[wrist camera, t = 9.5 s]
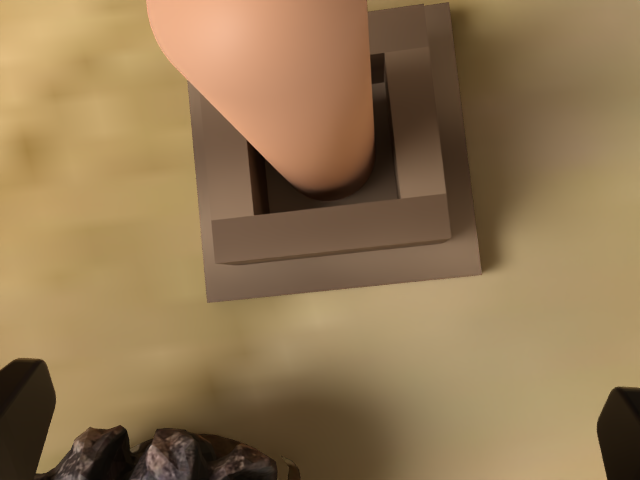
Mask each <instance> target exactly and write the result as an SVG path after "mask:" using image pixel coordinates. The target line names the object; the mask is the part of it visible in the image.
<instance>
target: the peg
mask: <svg viewBox="0 0 640 480" xmlns="http://www.w3.org/2000/svg"><path fill="white" fill-rule="evenodd" d="M146 2H147V13H148V17H149V21H150V26H151V28H152V31H153V34H154V36H155V39H156V41H157V43H158V44H159V46H160V48H161V50H162V52H163V53H164V54H165V56H166V57H167V58H168V60H169V61H170V62H171V63H172V64H173V65H174V66H175V68H176V69H177V70H178V71H179V72H180V73H181V74H182V75H183V76H184V77H185V78H186V79H187V80H188V81H189V82H190V83H191V84H192V85H193V86H194V87H195V88H196V89H197V90H198V91H199V92H200V93H201V94H202V95H203V96H204V97H205V98H206V99H207V100H208V101H209V102H210V103H211V104H212V105H213V106H214V107H215V108H216V109H217V110H218V111H219V112H220V113H221V114H222V115H223V116H224V117H225V118H226V119H227V120H228V121H229V122H230V123H231V124H232V125H233V126H234V127H235V128H236V129H237V130H238V131H239V132H240V133H241V134H242V135H243V136H244V137H245V138H246V139H247V140H248V141H249V142H250V144H251V145H252V146H253V147H254V148H255V149H256V150H257V151H258V152H259V153H260V154H261V155H262V156H263V157H264V158H265V159H266V160H267V161H268V162H269V163H270V164H271V165H272V166H273V167H274V168H275V169H276V170H277V171H278V172H279V173H280V174H281V175H282V176H283V177H284V178H285V179H286V180H287V181H288V182H289V183H290V184H291V185H292V186H293V187H294V188H295V189H296V190H297V191H299V192H300V193H301V194H303V195H305V196H307V197H309V198H311V199H315V200H319V201H335V200H340V199H343V198H346V197H348V196H350V195H352V194H353V193H355V192H356V191H357V190H359V189H360V188H361V187H362V186H363V185H364V183H365V182H366V181H367V179H368V178H369V176H370V174H371V172H372V170H373V166H374V163H375V134H374V117H373V99H372V82H371V64H370V47H369V29H368V12H367V0H146Z"/></svg>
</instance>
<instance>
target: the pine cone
mask: <svg viewBox="0 0 640 480" xmlns="http://www.w3.org/2000/svg"><path fill="white" fill-rule="evenodd" d="M281 457H282V458H283V460H284V461H285V462H286V464H287V465H288V467H289V472H288V480H300V473H299V469H298V467H297V466H296V465H295V464H294V462H293V461H291V460H289V459H287V458H285V457H283V456H281ZM34 480H277V466H276V462H275V461H274V460H272V459H271V458H269V457H268V456H266V455H265V454H263V453H262V452H260V451H259V450H257V449H256V448H253V447H250V446H248V445H247V444H244V443H241V442H238V441H235V440H231V439H228V438H224V437H220V436H217V435H207V434H194V433H189V432H187V431H186V430H181V429H172V428H163V429H157V430H156V433H155V436H154V438H153V439H151V440H148V441H146V442H144V443H141V444H139V445H136V446H134V447H132V448H131V449H130V445H129V437H128V433H127V430H126V429H125V428H124V427H122V426H121V425H120V426H117V427H114V428H111V429H108V430H105V429H94V428H91V427H89V428H88V429H87V430H86V431H85V432H83V433H82V434H81V435H80V436H78V437H77V438H76V439H75V440H74V443H73V445H72V448H71V450H70V451H69V452H68V453H67V454H66V456H65V457H64V458H63V459H62V460H61V462H60V463H59V464H58V465H57V466H56V467H55V468H53V469H52V470H50V471H49V472H47V473H43V474H35V477H34Z"/></svg>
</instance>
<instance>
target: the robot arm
mask: <svg viewBox="0 0 640 480" xmlns="http://www.w3.org/2000/svg"><path fill="white" fill-rule="evenodd" d="M55 404H56V394H55V390H54V387H53V383H52V380H51V377H50V374H49V371H48V367H47V365H46V363H45V362H44V361H43V360H42V359H32V358H18V359H15V360H13V361H12V362H10V363H9V364H8V365H6V366H5V367H4V368H2V369H1V370H0V480H34V477H35V474H36V470H37V467H38V463H39V460H40V457H41V453H42V450H43V446H44V443H45V440H46V436H47V433H48V429H49V426H50V423H51V419H52V416H53V413H54V409H55ZM597 435H598V440H599V444H600V449H601V453H602V458H603V462H604V467H605V471H606V476H607V480H640V388H636V387H615V388H614V389H613V390H612V391H611V392H610V394H609V396H608V399H607V401H606V403H605V405H604V407H603V410H602V412H601V414H600V416H599V418H598V422H597Z"/></svg>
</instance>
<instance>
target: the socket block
mask: <svg viewBox="0 0 640 480" xmlns="http://www.w3.org/2000/svg"><path fill="white" fill-rule="evenodd" d="M368 29H369V47H370V64H371V82H372V99H373V117H374V134H375V163H374V166H373V170H372V172H371V174H370V176H369V178H368V179H367V181H366V182H365V183H364V185H363V186H362V187H361V188H360V189H359V190H357V191H356V192H355V193H353V194H352V195H350V196H348V197H346V198H343V199H340V200H335V201H319V200H315V199H311V198H309V197H307V196H305V195H303V194H301V193H300V192H299V191H297V190H296V189H295V188H294V187H293V186H292V185H291V184H290V183H289V182H288V181H287V180H286V179H285V178H284V177H283V176H282V175H281V174H280V173H279V172H278V171H277V170H276V169H275V168H274V167H273V166H272V165H271V164H270V163H269V162H268V161H267V160H266V159H265V158H264V157H263V156H262V155H261V154H260V153H259V152H258V151H257V150H256V149H255V148H254V147H253V146H252V145H251V144H250V142H249V141H248V140H247V139H246V138H245V137H244V136H243V135H242V134H241V133H240V132H239V131H238V130H237V129H236V128H235V127H234V126H233V125H232V124H231V123H230V122H229V121H228V120H227V119H226V118H225V117H224V116H223V115H222V114H221V113H220V112H219V111H218V110H217V109H216V108H215V107H214V106H213V105H212V104H211V103H210V102H209V101H208V100H207V99H206V98H205V97H204V96H203V95H202V94H201V93H200V92H199V91H198V90H197V89H196V88H195V87H194V86H193V85H192V84H191V83H190V82H189V81H188V80H187V81H188V92H189V103H190V114H191V126H192V137H193V148H194V159H195V170H196V182H197V193H198V204H199V215H200V227H201V238H202V249H203V260H204V272H205V283H206V294H207V303H210V302H220V301H229V300H239V299H249V298H259V297H269V296H279V295H288V294H298V293H308V292H318V291H328V290H338V289H347V288H357V287H367V286H377V285H387V284H397V283H406V282H416V281H426V280H436V279H446V278H455V277H465V276H475V275H482V271H481V263H480V255H479V246H478V238H477V230H476V222H475V213H474V205H473V197H472V189H471V180H470V172H469V164H468V156H467V147H466V139H465V131H464V123H463V115H462V106H461V98H460V90H459V82H458V73H457V65H456V57H455V49H454V40H453V32H452V24H451V16H450V7H449V2H447V3H440V4H433V5H426V6H424V4H419V5H412V6H405V7H398V8H391V9H384V10H378V11H371V12H368Z"/></svg>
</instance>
